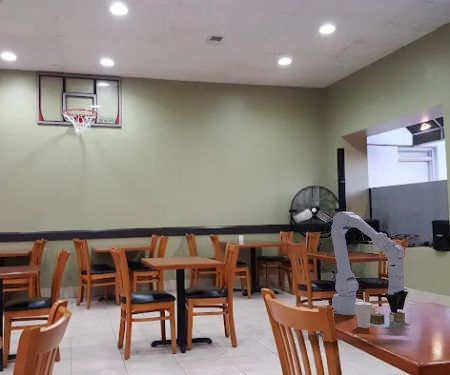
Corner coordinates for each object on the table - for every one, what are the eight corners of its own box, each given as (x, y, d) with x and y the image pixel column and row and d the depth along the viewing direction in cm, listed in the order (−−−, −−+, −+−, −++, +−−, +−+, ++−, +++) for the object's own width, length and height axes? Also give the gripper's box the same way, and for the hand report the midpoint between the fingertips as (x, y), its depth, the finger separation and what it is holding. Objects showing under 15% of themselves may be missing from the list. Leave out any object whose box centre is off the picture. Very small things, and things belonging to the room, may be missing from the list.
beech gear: (388, 320, 188) (388, 313, 188) (392, 318, 192) (392, 310, 192) (402, 322, 184) (401, 314, 185) (406, 320, 189) (406, 312, 189)
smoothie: (363, 332, 173) (362, 293, 174) (351, 329, 179) (350, 291, 180) (376, 330, 176) (375, 292, 177) (364, 327, 182) (363, 289, 183)
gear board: (362, 327, 182) (362, 314, 182) (379, 319, 196) (379, 307, 197) (394, 331, 175) (394, 318, 175) (409, 322, 189) (409, 310, 189)
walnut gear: (370, 323, 184) (369, 315, 184) (369, 320, 189) (369, 312, 189) (384, 323, 182) (384, 315, 182) (384, 320, 187) (383, 313, 187)
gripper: (400, 278, 181) (401, 315, 180) (412, 274, 193) (413, 309, 192) (382, 277, 185) (383, 313, 184) (394, 273, 197) (395, 307, 196)
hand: (397, 310), depth 188 cm, fingers open, 7 cm apart
